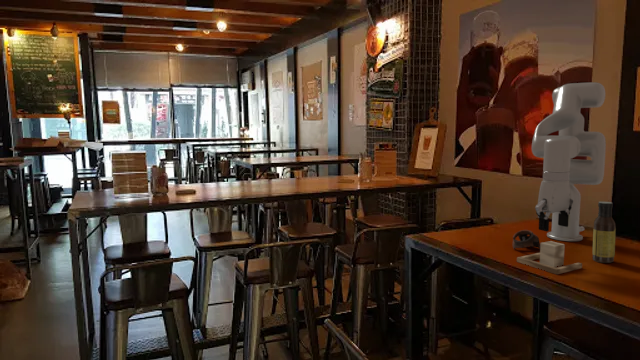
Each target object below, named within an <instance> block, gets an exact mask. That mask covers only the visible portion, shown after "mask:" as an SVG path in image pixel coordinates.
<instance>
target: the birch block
mask: <svg viewBox="0 0 640 360" xmlns="http://www.w3.org/2000/svg"><path fill="white" fill-rule="evenodd" d="M540 244H541V245H540V249H539V253H540V258H539V263H542V264H545V265H549V266H552V267H555V268H558V267H562V265H563V266H565V265H564V262H565V261H564V260H565V249H566V248H565V246H566V245H565V244H564V243H560V242H555V241H552V240H550V241H545V242H543V241H542V242H540ZM557 266H558V267H557Z"/></svg>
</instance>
